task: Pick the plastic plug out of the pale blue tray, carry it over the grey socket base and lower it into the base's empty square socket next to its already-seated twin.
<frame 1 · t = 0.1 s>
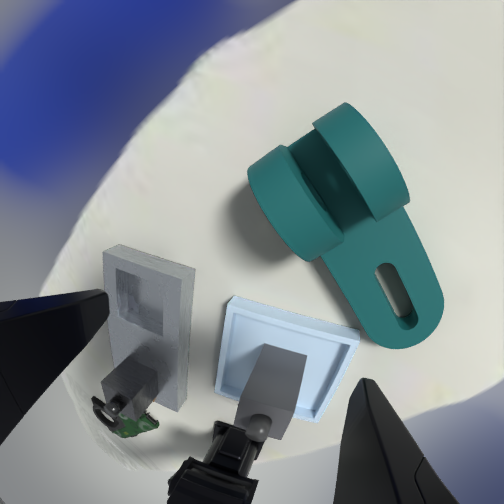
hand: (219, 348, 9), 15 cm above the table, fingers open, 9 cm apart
grey socket base: (152, 331, 29), on the table
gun: (121, 410, 39), on the table
bracket: (369, 241, 21), on the table
tray: (281, 362, 26), on the table
plug: (280, 365, 25), resting on tray
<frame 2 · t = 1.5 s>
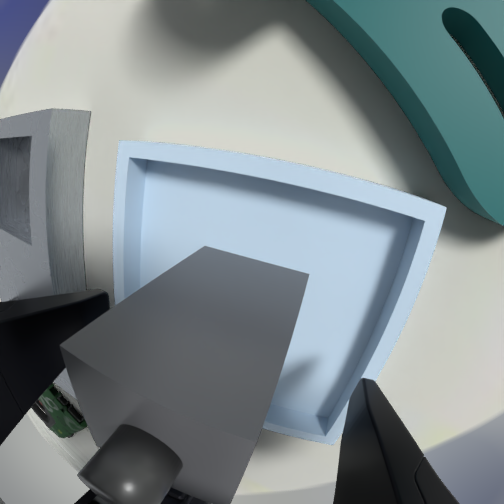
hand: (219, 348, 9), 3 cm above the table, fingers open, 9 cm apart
grey socket base: (43, 256, 15), on the table
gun: (51, 400, 25), on the table
bracket: (409, 13, 7), on the table
tray: (249, 300, 12), on the table
plug: (246, 306, 11), resting on tray
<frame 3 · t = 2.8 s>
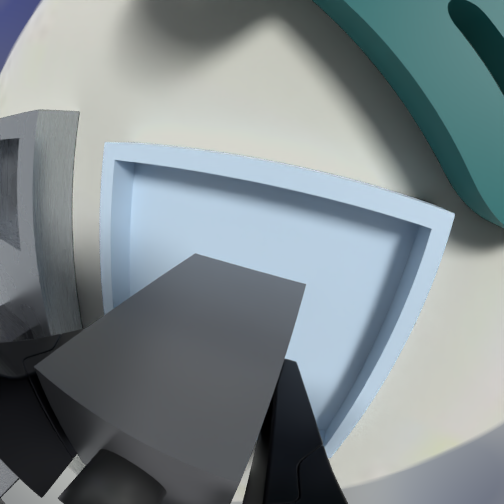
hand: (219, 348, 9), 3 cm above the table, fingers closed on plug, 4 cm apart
grey socket base: (35, 260, 14), on the table
bracket: (412, 6, 6), on the table
tray: (243, 311, 11), on the table
plug: (239, 317, 10), resting on tray, touching gripper
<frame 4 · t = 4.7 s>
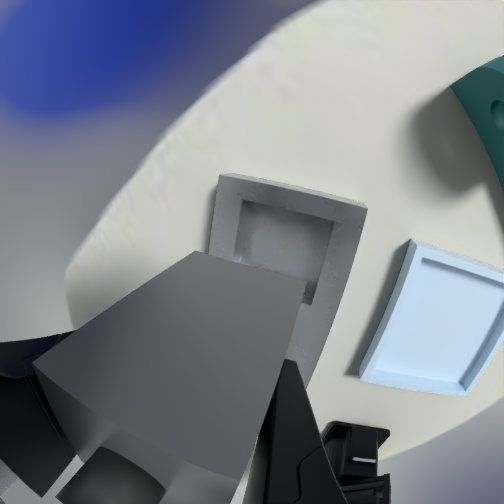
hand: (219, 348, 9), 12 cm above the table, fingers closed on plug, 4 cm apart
grey socket base: (271, 305, 21), on the table
tray: (445, 325, 18), on the table
plug: (239, 315, 10), point 10 cm above the table, touching gripper
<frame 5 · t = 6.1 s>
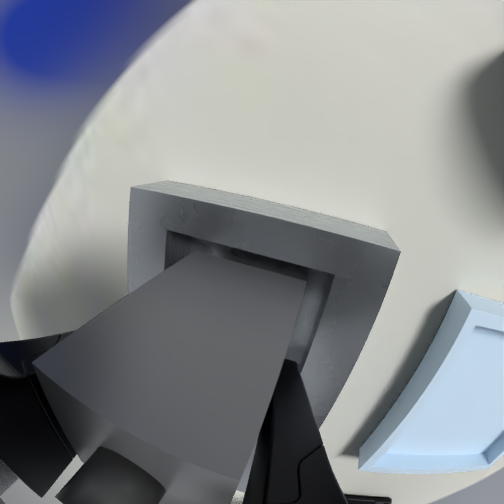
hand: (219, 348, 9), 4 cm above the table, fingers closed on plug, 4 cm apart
grey socket base: (235, 377, 14), on the table
tray: (481, 398, 10), on the table
plug: (239, 315, 10), point 2 cm above the table, touching gripper
when the fingers open (3 cm above the table, at t = 7.0 s): plug stays where it is, resting on grey socket base.
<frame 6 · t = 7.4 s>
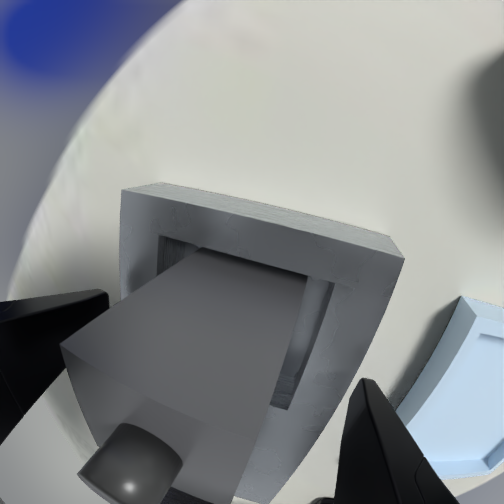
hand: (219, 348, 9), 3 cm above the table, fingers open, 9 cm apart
grey socket base: (232, 384, 13), on the table
tray: (483, 404, 10), on the table
plug: (246, 305, 11), resting on grey socket base
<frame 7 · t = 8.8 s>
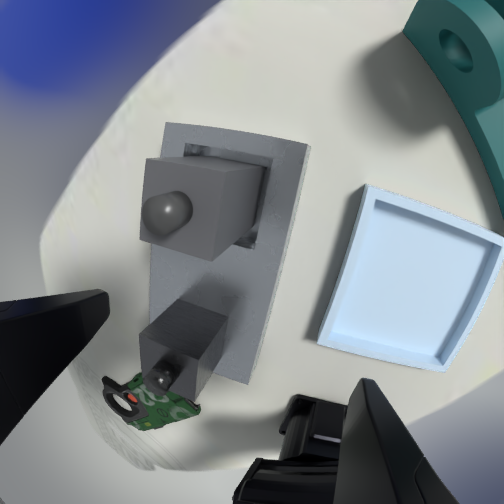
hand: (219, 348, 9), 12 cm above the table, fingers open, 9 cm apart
grey socket base: (221, 257, 21), on the table
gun: (144, 394, 31), on the table
bracket: (501, 127, 13), on the table
tray: (414, 285, 18), on the table
plug: (230, 190, 19), resting on grey socket base
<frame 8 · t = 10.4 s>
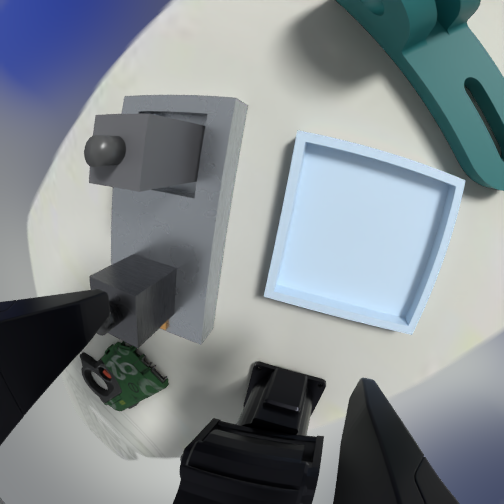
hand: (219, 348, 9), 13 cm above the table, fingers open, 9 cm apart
grey socket base: (174, 215, 22), on the table
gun: (118, 370, 32), on the table
bracket: (445, 72, 13), on the table
tray: (364, 234, 18), on the table
plug: (179, 150, 20), resting on grey socket base
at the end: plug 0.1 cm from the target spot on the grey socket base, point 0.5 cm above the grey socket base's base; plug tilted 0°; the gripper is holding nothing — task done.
